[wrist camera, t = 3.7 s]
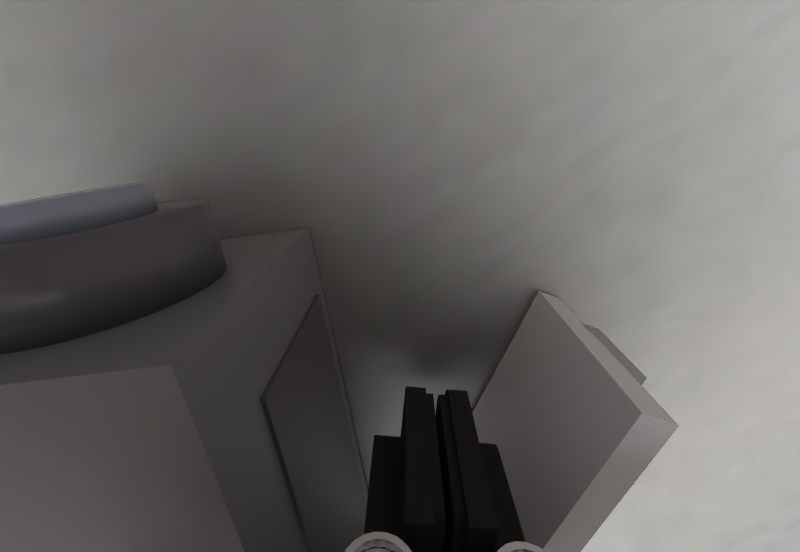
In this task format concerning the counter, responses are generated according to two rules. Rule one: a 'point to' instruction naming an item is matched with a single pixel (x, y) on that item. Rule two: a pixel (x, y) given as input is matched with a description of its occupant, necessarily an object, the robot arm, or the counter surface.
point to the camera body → (167, 384)
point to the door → (568, 425)
